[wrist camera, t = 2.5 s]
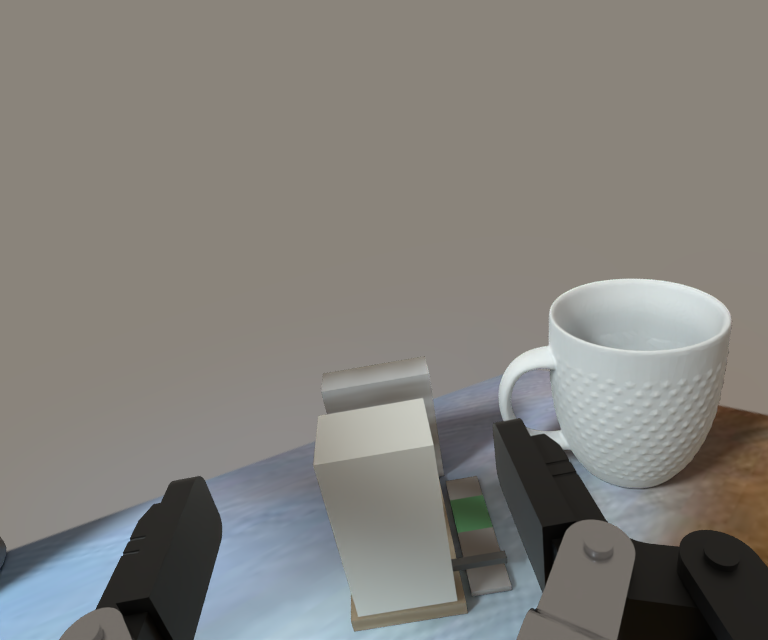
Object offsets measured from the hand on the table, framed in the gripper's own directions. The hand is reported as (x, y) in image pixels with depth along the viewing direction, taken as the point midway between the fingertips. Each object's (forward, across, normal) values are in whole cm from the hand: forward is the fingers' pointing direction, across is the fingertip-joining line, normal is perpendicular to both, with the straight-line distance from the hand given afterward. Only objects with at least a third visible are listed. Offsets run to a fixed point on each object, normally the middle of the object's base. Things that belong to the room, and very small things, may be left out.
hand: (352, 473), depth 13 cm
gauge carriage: (+11, -2, +19) cm, 22 cm away
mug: (+19, -17, +20) cm, 33 cm away
